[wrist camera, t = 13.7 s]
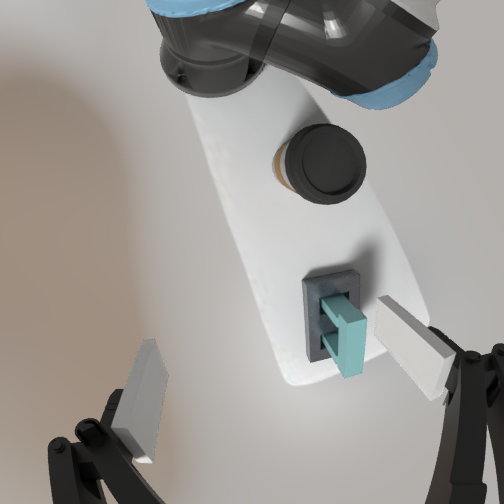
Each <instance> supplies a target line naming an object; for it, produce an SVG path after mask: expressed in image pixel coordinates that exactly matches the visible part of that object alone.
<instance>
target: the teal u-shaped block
mask: <svg viewBox="0 0 504 504" xmlns="http://www.w3.org/2000/svg"><path fill="white" fill-rule="evenodd" d="M319 304H320V305H321V306H322V308H323V309H324V311H325V312H326V313H327V315H328V316H329V317H330V319H331V320H332V322H333V323H334V324H335V326H336V327H339V330H338V331H334V332H330V333H326V334H322V335H320V338H321V339H322V341H323V343H324V345H325V346H326V348H327V350H328V351H329V353H330V355H331V356H332V358H333V360H334V362H335V363H336V364H338V368H339V370H340V372H341V374H342V375H343V377H344V378H348V377H351V376H354V375H357V374H361V373H362V370H363V362H364V353H365V342H366V329H367V318H366V316H365V315H364V314H363V313H362V312H361V311H360V310H359V309H356V308H355V307H354V306H353V305H352V304H351V303H350V302H349V300H348V299H347V298H346V297H345V296H344V295H343V294H342V293H339V294H334V295H330V296H325V297H321V298H319Z"/></svg>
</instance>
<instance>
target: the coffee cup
mask: <svg viewBox="0 0 504 504" xmlns="http://www.w3.org/2000/svg"><path fill="white" fill-rule="evenodd" d="M272 169H273V173H274V175H275V177H276V179H277V180H278V181H279V182H280V183H281V184H282V185H284V186H285V187H286V188H288V189H290V190H292V191H294V192H295V193H297V194H299V195H300V196H302V197H303V198H304V199H306V200H308V201H310V202H313V203H316V204H323V205H325V204H326V205H330V204H338V203H340V202H343V201H345V200H347V199H348V198H349V197H351V196H352V195H353V194H354V193H356V192H357V190H358V189H359V188H360V186H361V185H362V183H363V180H364V178H365V175H366V158H365V154H364V151H363V148H362V146H361V145H360V143H359V142H358V140H357V139H356V138H355V137H354V136H353V135H352V134H351V133H349V132H348V131H346V130H344V129H343V128H341V127H339V126H336V125H332V124H314V125H311V126H308V127H305V128H303V129H302V130H301V131H299V132H298V133H296V134H295V136H294V137H293V138H292V139H291V140H289V141H288V142H287V143H285V144H284V145H283V146H282V147H281V148H280V149H279V150H278V151H277V152H276V154H275V156H274V158H273V162H272Z"/></svg>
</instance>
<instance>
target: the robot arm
mask: <svg viewBox="0 0 504 504" xmlns="http://www.w3.org/2000/svg"><path fill="white" fill-rule="evenodd" d="M439 1H440V0H146V3H147V5H148V7H149V9H150V10H151V13H152V15H153V17H154V19H155V21H156V23H157V25H158V27H159V29H160V32H161V34H162V36H163V40H162V44H161V48H160V61H161V65H162V68H163V70H164V72H165V74H166V76H167V77H168V78H169V80H170V81H171V82H172V83H173V84H174V85H175V86H176V87H177V88H178V89H180V90H182V91H183V92H185V93H188V94H191V95H194V96H198V97H206V98H215V97H223V96H227V95H230V94H233V93H236V92H238V91H240V90H242V89H244V88H245V87H247V86H248V85H249V84H250V83H252V82H253V81H254V80H255V79H256V77H257V76H258V75H259V73H260V71H261V70H262V67H263V65H264V63H267V64H269V65H272V66H274V67H277V68H280V69H282V70H285V71H287V72H289V73H292V74H294V75H297V76H299V77H301V78H303V79H306V80H308V81H310V82H312V83H315V84H317V85H319V86H321V87H323V88H325V89H327V90H329V91H330V92H331V93H332V94H333V95H335V96H337V97H340V98H344V99H347V100H349V101H351V102H354V103H356V104H357V105H359V106H362V107H364V108H367V109H375V110H382V109H387V108H391V107H394V106H396V105H398V104H400V103H402V102H404V101H405V100H407V99H408V98H410V97H411V96H413V95H414V94H415V93H416V92H417V91H418V90H419V89H420V88H421V87H422V86H423V85H424V84H425V83H426V81H427V80H428V78H429V77H430V75H431V73H430V71H429V70H430V69H432V68H434V67H435V65H436V63H437V57H438V54H437V47H436V45H435V43H434V41H433V39H432V36H433V35H434V34H435V33H436V32H437V31H438V29H439V23H438V19H437V15H436V5H437V3H438V2H439ZM374 336H375V337H376V338H377V339H378V340H379V341H380V342H381V344H382V345H383V346H384V347H385V348H386V349H387V350H388V352H389V353H390V354H391V355H392V356H393V357H394V358H395V360H396V361H397V362H398V363H399V364H400V365H401V367H402V368H403V369H404V370H405V371H406V372H407V374H408V375H409V376H410V377H411V378H412V379H413V381H414V382H415V383H416V384H417V385H418V387H419V388H420V389H421V390H422V391H423V393H424V394H425V395H426V396H427V398H428V399H429V400H430V401H431V400H433V399H435V398H437V397H439V396H440V395H441V394H442V392H443V390H444V387H446V388H447V389H448V390H449V391H448V393H447V396H446V398H445V400H444V403H443V405H445V403H446V408H445V417H444V423H443V431H442V437H441V443H440V447H439V452H438V457H437V461H436V466H435V470H434V474H433V478H432V482H431V485H430V489H429V492H428V495H427V499H426V502H425V504H484V503H485V498H486V492H487V485H486V484H485V483H483V482H482V477H483V470H484V461H485V450H486V431H487V425H488V429H489V434H490V438H491V443H492V448H493V454H494V460H495V466H496V474H497V482H498V491H499V502H500V504H504V344H502V343H499V344H495V345H494V346H493V349H492V352H491V353H489V354H485V355H481V354H480V353H478V352H475V351H466V352H465V351H464V350H463V349H461V348H460V347H459V346H458V345H457V344H456V343H454V342H453V341H452V340H451V339H449V338H448V337H447V336H446V335H444V333H442V332H441V331H440V330H438V329H436V328H434V327H432V326H430V327H426V326H425V325H423V324H422V323H421V322H420V321H419V320H417V319H416V318H415V317H414V316H413V315H411V314H410V313H409V312H408V311H407V310H405V309H404V308H403V307H402V306H400V305H399V304H398V303H397V302H396V301H394V300H393V299H392V298H391V297H389V296H388V295H386V296H382V297H378V298H377V309H376V322H375V334H374ZM167 381H168V372H167V370H166V367H165V365H164V362H163V360H162V357H161V355H160V352H159V349H158V346H157V343H156V341H155V339H150V340H143V341H142V343H141V346H140V348H139V351H138V353H137V356H136V358H135V361H134V363H133V366H132V369H131V372H130V374H129V377H128V380H127V382H126V385H125V388H124V389H116V390H115V391H114V392H113V393H112V394H111V395H110V397H109V399H108V402H107V405H106V407H105V410H104V412H103V415H102V418H101V421H100V422H99V421H98V420H96V419H94V418H88V419H84V420H82V421H81V422H79V423H78V424H77V426H76V428H75V435H76V436H77V438H78V439H79V440H80V441H81V442H77V443H70V441H68V440H67V438H64V437H57V438H55V439H53V440H52V441H51V442H50V443H49V445H48V464H49V475H50V484H51V492H52V499H53V504H107V502H106V499H105V496H104V492H103V489H102V485H101V482H100V479H103V480H104V482H105V484H106V485H107V487H108V488H109V490H110V492H111V493H112V495H113V496H114V498H115V499H116V501H117V502H118V504H165V503H164V501H162V499H161V498H160V497H159V496H158V495H157V494H156V492H155V491H154V490H153V489H152V488H151V487H150V485H149V484H148V483H147V482H146V480H145V479H144V478H143V477H142V475H141V474H140V473H139V472H138V470H137V469H136V468H135V466H134V465H133V464H132V458H133V457H134V458H135V459H136V461H137V462H139V463H153V461H154V455H155V448H156V442H157V435H158V430H159V423H160V418H161V412H162V407H163V402H164V396H165V391H166V386H167Z"/></svg>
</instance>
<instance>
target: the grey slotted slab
mask: <svg viewBox="0 0 504 504" xmlns="http://www.w3.org/2000/svg"><path fill="white" fill-rule="evenodd" d="M302 288H303V302H304V317H305V334H306V353H307V357H308V359H309V361H310V363H311V362H316V361H320V360H324V359H328V358H331V357H332V356H331V355H330V353H329V351H328V350H327V348H326V346H325V345H324V343H323V341H320V335H322V334H326V333H330V332H334V331H338V330H339V327H336V326H335V324H334V323H333V322H332V320H331V319H330V317H329V316H328V315H327V313H326V312H325V311H324V309H323V308H322V307H320V308H319V298H321V297H325V296H330V295H334V294H339V293H343V295H344V296H345V297H346V298H347V299H348V300H349V302H350V303H351V304H352V305H353V306H354V307H355V308H356V309H359V301H360V275H359V274H358V273H357V272H355V271H354V270H350V271H345V272H340V273H335V274H330V275H325V276H320V277H315V278H310V279H305V280H302Z"/></svg>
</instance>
